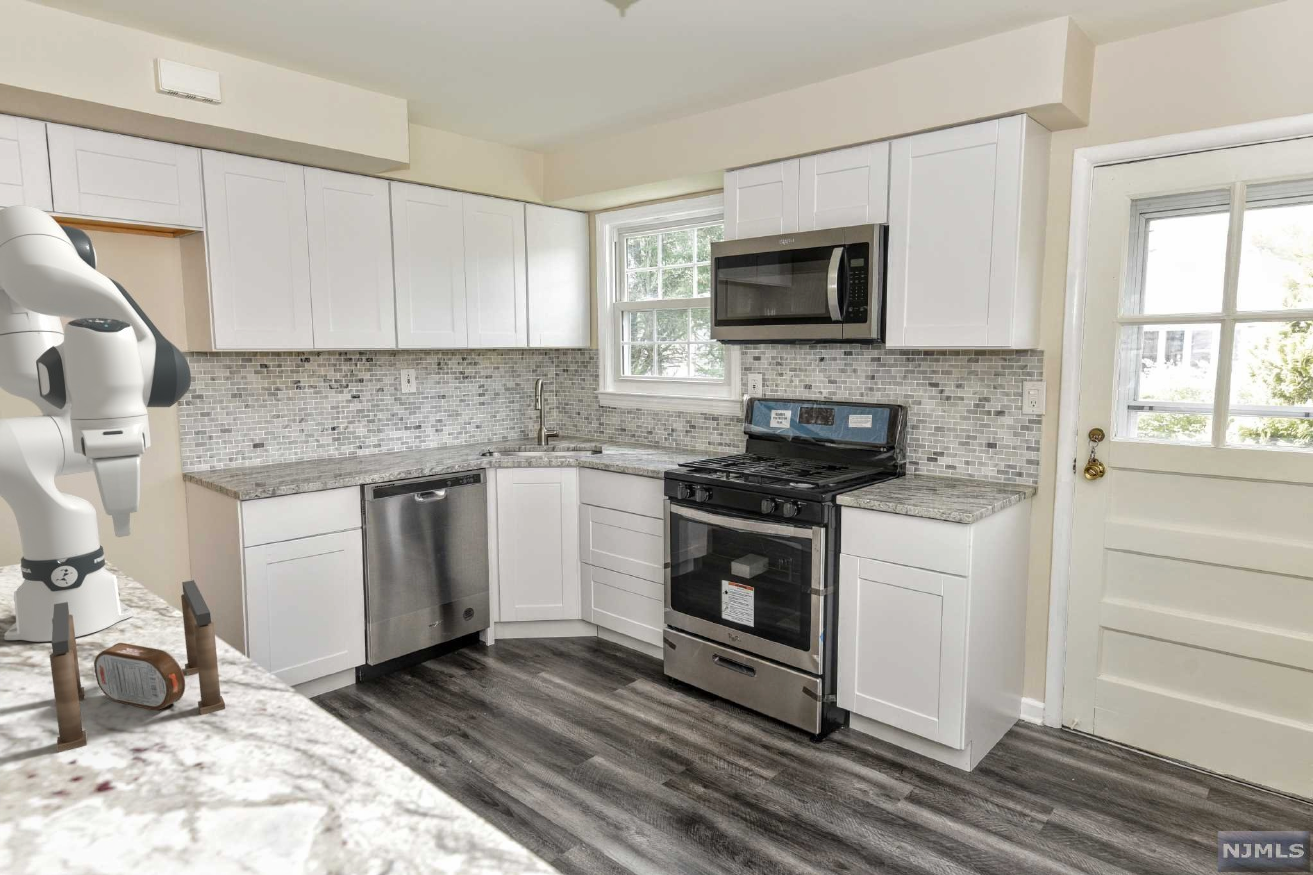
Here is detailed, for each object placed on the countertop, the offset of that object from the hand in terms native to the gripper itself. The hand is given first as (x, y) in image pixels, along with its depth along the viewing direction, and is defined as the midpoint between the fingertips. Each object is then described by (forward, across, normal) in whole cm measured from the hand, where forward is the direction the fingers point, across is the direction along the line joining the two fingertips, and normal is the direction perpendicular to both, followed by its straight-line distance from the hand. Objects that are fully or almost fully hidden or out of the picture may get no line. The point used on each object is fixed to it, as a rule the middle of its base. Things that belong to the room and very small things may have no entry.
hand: (122, 534), depth 110 cm
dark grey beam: (+12, 0, +8) cm, 15 cm away
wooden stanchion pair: (+25, 0, 0) cm, 25 cm away
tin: (+25, 0, 0) cm, 25 cm away
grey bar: (+12, 0, -8) cm, 15 cm away
